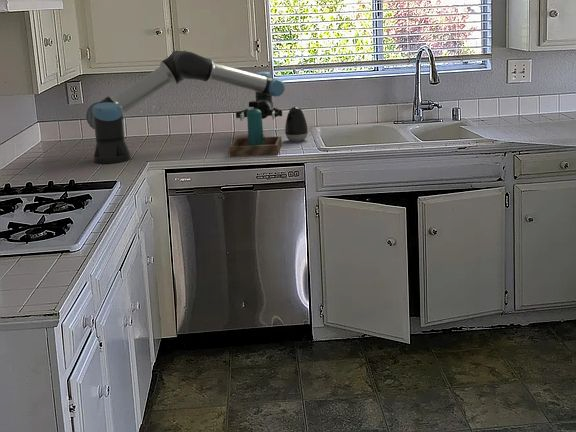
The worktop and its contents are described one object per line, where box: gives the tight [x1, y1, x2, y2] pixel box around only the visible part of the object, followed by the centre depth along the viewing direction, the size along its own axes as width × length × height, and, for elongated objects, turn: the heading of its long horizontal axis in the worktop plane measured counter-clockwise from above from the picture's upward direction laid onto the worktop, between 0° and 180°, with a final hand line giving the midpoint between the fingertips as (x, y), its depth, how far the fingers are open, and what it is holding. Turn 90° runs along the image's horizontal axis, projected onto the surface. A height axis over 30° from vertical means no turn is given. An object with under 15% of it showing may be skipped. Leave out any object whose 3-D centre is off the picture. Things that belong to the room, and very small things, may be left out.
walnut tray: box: [228, 136, 283, 158], centre depth 365 cm, size 20×20×4 cm
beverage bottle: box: [246, 100, 265, 146], centre depth 362 cm, size 6×7×20 cm
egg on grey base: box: [284, 106, 309, 143], centre depth 381 cm, size 10×10×15 cm
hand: (257, 116), depth 369 cm, fingers open, 13 cm apart
